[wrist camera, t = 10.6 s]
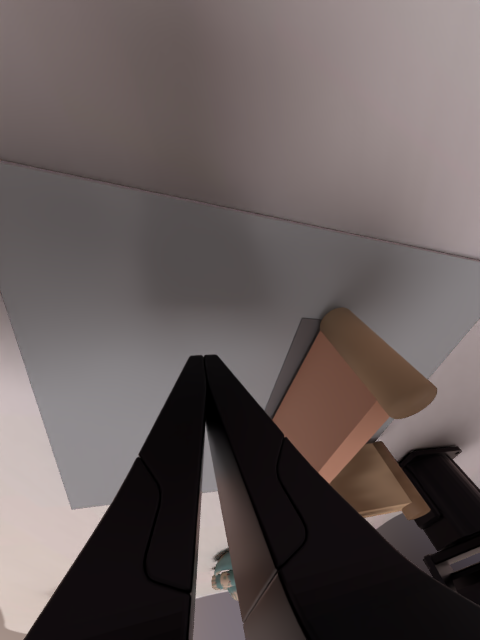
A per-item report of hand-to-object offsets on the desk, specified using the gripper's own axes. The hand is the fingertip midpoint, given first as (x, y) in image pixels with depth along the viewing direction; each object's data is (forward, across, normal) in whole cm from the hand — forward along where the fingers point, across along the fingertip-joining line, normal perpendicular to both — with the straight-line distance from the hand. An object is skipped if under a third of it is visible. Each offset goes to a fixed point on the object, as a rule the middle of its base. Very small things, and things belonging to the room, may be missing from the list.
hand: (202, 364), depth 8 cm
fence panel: (+3, -5, +6) cm, 8 cm away
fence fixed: (+3, -10, +12) cm, 16 cm away
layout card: (+3, -4, +6) cm, 8 cm away
